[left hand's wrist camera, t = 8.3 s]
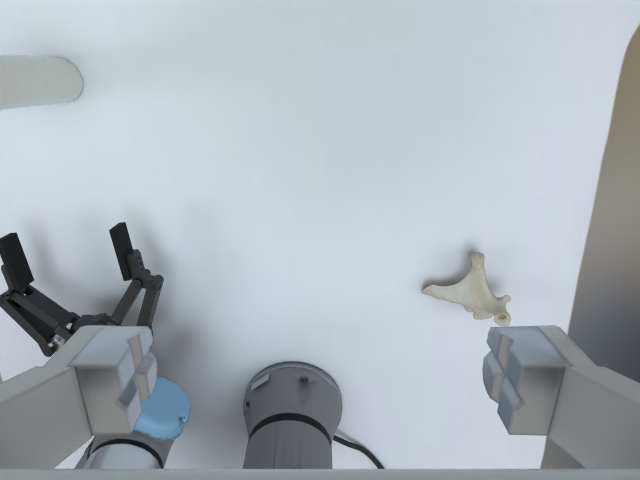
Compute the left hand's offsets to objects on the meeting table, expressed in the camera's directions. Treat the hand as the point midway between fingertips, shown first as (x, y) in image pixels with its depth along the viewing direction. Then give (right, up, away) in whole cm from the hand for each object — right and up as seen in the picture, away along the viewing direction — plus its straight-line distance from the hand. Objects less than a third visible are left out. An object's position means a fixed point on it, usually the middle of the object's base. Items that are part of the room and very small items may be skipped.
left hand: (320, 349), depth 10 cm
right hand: (-31, +4, +41) cm, 51 cm away
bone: (+20, -3, +50) cm, 54 cm away
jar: (-31, +22, +41) cm, 55 cm away
